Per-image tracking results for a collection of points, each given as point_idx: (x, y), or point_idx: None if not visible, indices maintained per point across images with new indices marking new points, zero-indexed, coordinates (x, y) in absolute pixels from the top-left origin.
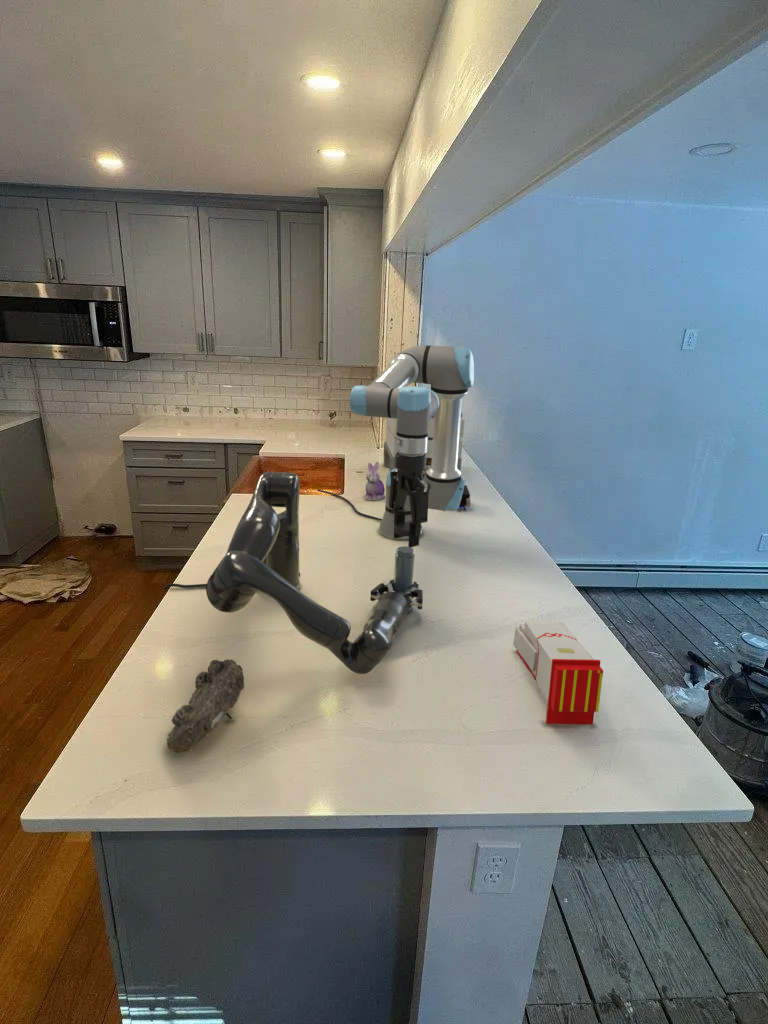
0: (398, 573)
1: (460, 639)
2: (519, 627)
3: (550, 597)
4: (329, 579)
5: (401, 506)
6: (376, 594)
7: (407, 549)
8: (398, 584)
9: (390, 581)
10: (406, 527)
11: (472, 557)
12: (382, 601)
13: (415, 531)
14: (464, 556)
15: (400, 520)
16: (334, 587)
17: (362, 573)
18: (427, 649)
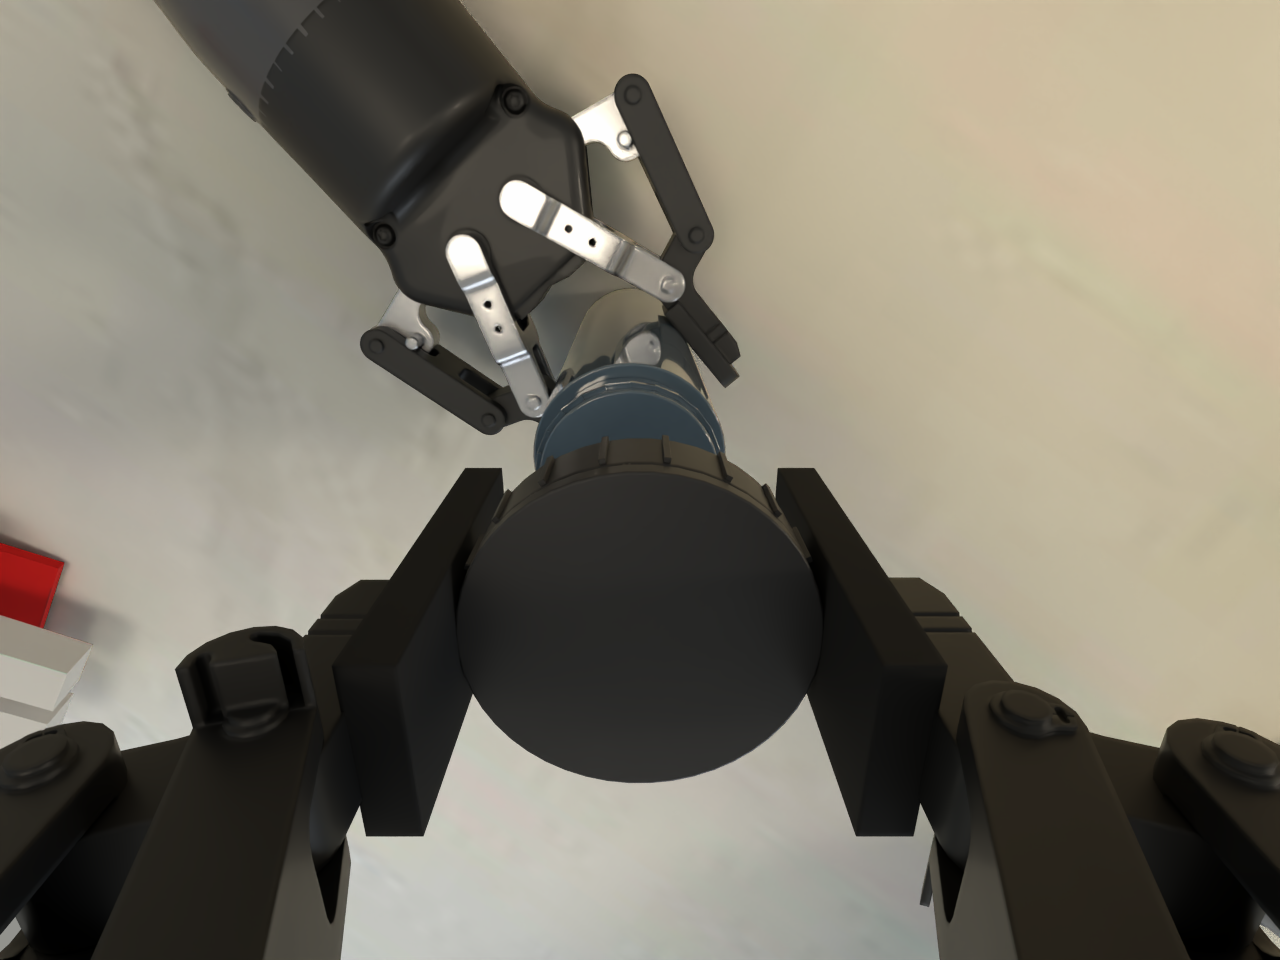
0: (601, 335)
1: (240, 421)
2: (77, 661)
3: (412, 923)
4: (1193, 140)
5: (957, 922)
6: (614, 122)
7: None
8: (601, 322)
9: (721, 332)
10: (598, 612)
11: (861, 908)
12: None
13: (331, 619)
14: (891, 889)
15: (833, 666)
16: (1083, 110)
17: (1101, 380)
18: (205, 211)
